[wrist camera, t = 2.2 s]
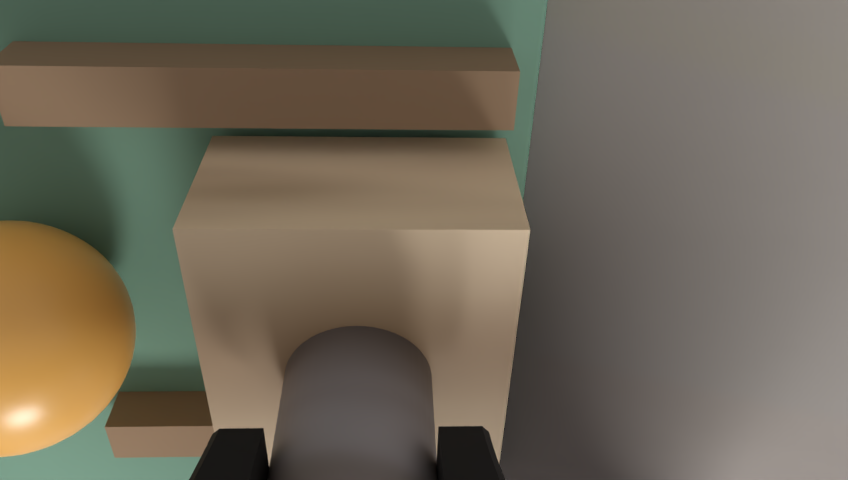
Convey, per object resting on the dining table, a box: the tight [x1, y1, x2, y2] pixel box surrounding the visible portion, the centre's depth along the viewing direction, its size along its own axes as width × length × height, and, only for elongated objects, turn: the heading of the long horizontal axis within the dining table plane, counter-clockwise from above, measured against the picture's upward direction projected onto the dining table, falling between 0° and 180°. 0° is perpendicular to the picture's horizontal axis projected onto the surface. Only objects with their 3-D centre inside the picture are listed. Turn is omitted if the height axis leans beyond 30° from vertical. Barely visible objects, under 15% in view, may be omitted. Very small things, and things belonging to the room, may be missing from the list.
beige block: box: [172, 136, 530, 480], centre depth 11 cm, size 6×5×8 cm
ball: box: [0, 220, 136, 457], centre depth 13 cm, size 4×4×4 cm
